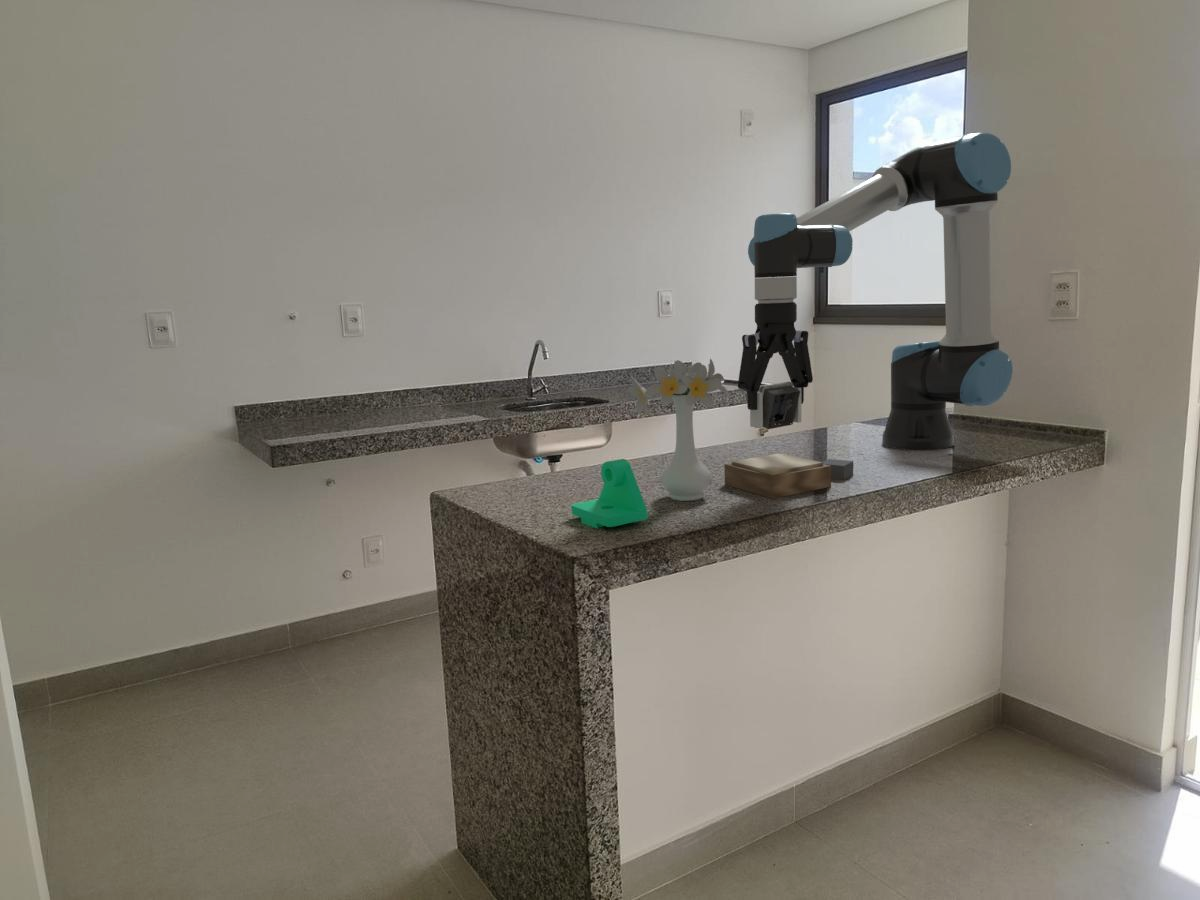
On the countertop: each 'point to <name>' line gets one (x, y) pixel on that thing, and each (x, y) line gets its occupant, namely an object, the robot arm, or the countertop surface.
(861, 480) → the countertop surface
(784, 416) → the electrical switch
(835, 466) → the rubber block
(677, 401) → the flower vase
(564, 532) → the countertop surface
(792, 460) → the wooden box
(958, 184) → the robot arm
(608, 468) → the camera mount
